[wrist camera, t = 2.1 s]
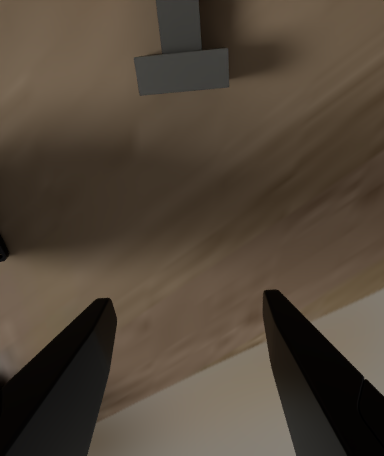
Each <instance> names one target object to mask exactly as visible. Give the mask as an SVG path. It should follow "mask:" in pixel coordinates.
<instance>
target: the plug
mask: <svg viewBox="0 0 384 456" xmlns="http://www.w3.org/2000/svg"><path fill="white" fill-rule="evenodd" d="M156 6H157V14H158V22H159V31H160V39H161V47H162V54H156V55H147V56H140V57H135V58H134V63H135V69H136V75H137V82H138V88H139V94H140V96H142V95H152V94H163V93H173V92H184V91H195V90H205V89H216V88H227V87H229V61H228V48H214V49H205V50H202V46H201V30H200V14H199V0H156Z"/></svg>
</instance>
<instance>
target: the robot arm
mask: <svg viewBox="0 0 384 456" xmlns="http://www.w3.org/2000/svg"><path fill="white" fill-rule="evenodd" d="M0 254H1V255H0V262H2V261H5V260H6V259H7V258H8V256H9V252H8V250H7V248H6V246H5V244H4V241H3V239H2V237H1V235H0ZM263 320H264V326H265V332H266V339H267V344H268V351H269V357H270V362H271V367H272V371H273V375H274V379H275V382H276V386H277V389H278V393H279V396H280V400H281V403H282V407H283V410H284V414H285V417H286V421H287V425H288V428H289V431H290V435H291V439H292V442H293V445H294V449H295V452H296V456H384V396H383V395H382V394H381V393H380V392H379V391H378V390H377V389H376V388H375V387H374V386H373V385H372V384H371V383H370V382H369V381H368V380H367V379H364V376H363V375H362V374H361V373H360V372H359V371H358V370H357V369H356V368H355V367H354V366H353V365H352V364H351V363H350V362H349V361H348V360H347V359H346V358H345V357H344V356H343V355H342V354H341V353H340V352H339V351H338V350H337V349H336V348H335V347H334V346H333V345H332V344H331V343H330V342H329V341H328V340H327V339H326V338H325V337H324V336H323V335H322V334H321V333H320V332H319V331H318V330H317V329H316V328H315V327H314V326H313V325H312V324H311V323H310V322H309V321H308V320H307V319H306V318H305V317H304V316H303V314H302V313H301V312H300V311H299V310H298V309H297V308H296V307H295V306H294V305H293V304H292V303H291V302H290V301H289V300H288V299H287V298H286V297H285V296H284V295H283V294H282V293H281V292H280V291H279V290H276V289H275V290H265V291H264V292H263ZM116 326H117V317H116V313H115V310H114V307H113V303H112V301H111V299H110V298H98V299H96V300H95V301H93V302H92V303H91V304H90V305H89V306H88V307H87V308H86V309H85V310H84V311H83V312H82V313H81V314H80V315H79V316H78V317H76V318H75V319H74V320H73V321H72V322H71V323H70V324H69V325H68V326H67V327H66V328H65V329H64V330H63V331H62V332H61V333H59V334H58V335H57V336H56V337H55V338H54V339H53V340H52V341H51V342H50V343H49V344H48V345H47V346H46V347H45V348H43V349H42V350H41V351H40V352H39V353H38V354H37V355H36V356H35V357H34V358H33V359H32V360H31V361H30V362H29V363H28V364H26V365H25V366H24V367H23V368H22V369H21V370H20V371H19V372H18V373H17V374H16V375H15V376H14V377H13V378H12V379H11V380H9V381H8V382H7V383H6V384H5V385H4V386H3V387H2V389H1V390H0V456H87V454H88V450H89V447H90V443H91V439H92V435H93V432H94V428H95V424H96V421H97V417H98V413H99V409H100V406H101V402H102V398H103V394H104V391H105V387H106V383H107V379H108V375H109V371H110V365H111V359H112V352H113V346H114V339H115V333H116Z"/></svg>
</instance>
